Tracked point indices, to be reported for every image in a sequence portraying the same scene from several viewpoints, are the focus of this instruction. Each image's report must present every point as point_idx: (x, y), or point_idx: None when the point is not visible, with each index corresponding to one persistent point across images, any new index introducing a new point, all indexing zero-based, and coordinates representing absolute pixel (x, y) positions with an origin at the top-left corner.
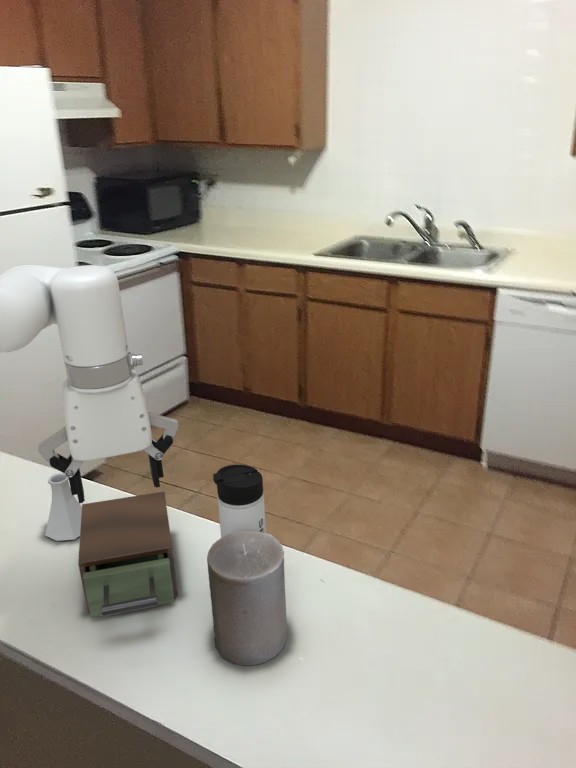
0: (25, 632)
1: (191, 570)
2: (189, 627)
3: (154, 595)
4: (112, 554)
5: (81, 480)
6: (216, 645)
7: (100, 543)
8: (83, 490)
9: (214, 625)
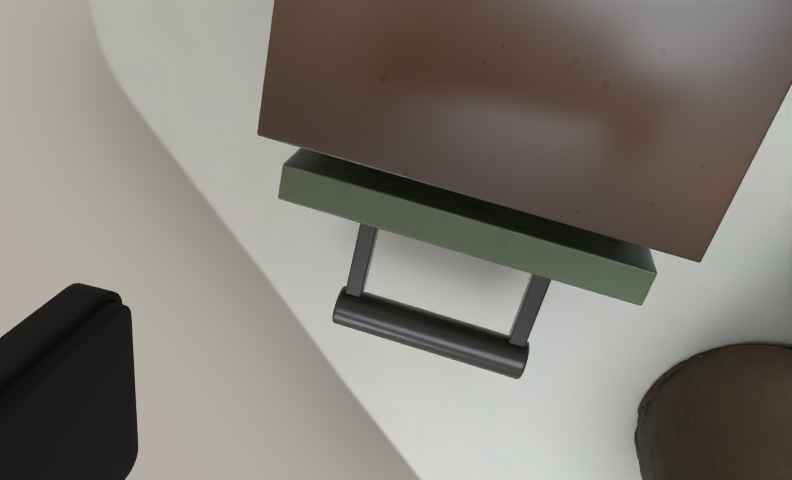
0: (147, 55)
1: None
2: (612, 307)
3: (519, 360)
4: (416, 159)
5: (35, 439)
6: (640, 422)
7: (381, 34)
8: (119, 343)
9: (651, 476)
